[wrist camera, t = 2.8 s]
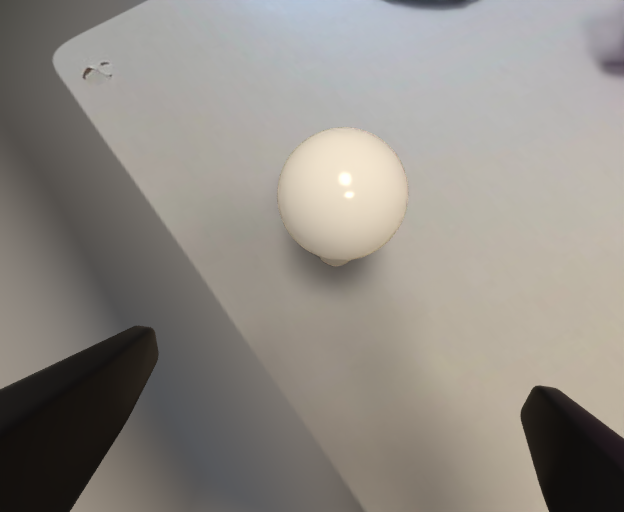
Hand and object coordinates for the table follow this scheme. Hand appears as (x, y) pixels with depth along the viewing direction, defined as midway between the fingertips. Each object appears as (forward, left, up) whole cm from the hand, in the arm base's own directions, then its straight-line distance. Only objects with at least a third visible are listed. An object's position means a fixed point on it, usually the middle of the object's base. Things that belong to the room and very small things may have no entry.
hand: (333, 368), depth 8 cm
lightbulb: (+5, +7, -14) cm, 16 cm away
